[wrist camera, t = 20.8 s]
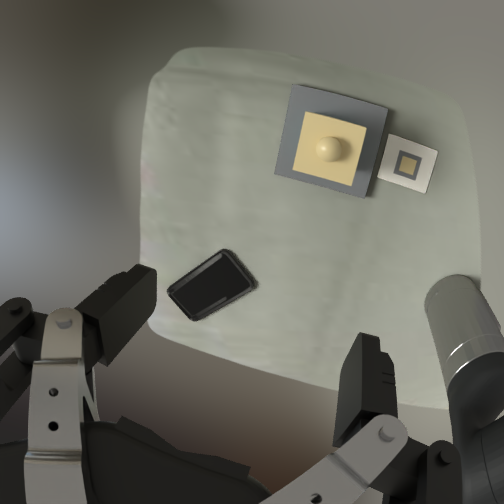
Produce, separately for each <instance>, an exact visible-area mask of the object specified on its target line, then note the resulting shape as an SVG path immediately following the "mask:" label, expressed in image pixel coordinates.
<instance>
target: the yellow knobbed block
mask: <svg viewBox="0 0 504 504" xmlns="http://www.w3.org/2000/svg"><path fill="white" fill-rule="evenodd" d="M366 129H367V128H366V127H364V126H361V125H358V124H355V123H351V122H348V121H344V120H340V119H337V118H333V117H329V116H325V115H321V114H317V113H313V112H308V111H305V115H304V120H303V125H302V129H301V134H300V138H299V143H298V147H297V152H296V156H295V161H294V165H293V170H295V171H299V172H303V173H306V174H310V175H314V176H317V177H321V178H325V179H328V180H332V181H335V182H339V183H342V184H345V185H349V186H352V182H353V178H354V175H355V171H356V168H357V164H358V160H359V156H360V153H361V149H362V145H363V141H364V137H365V133H366Z"/></svg>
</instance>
